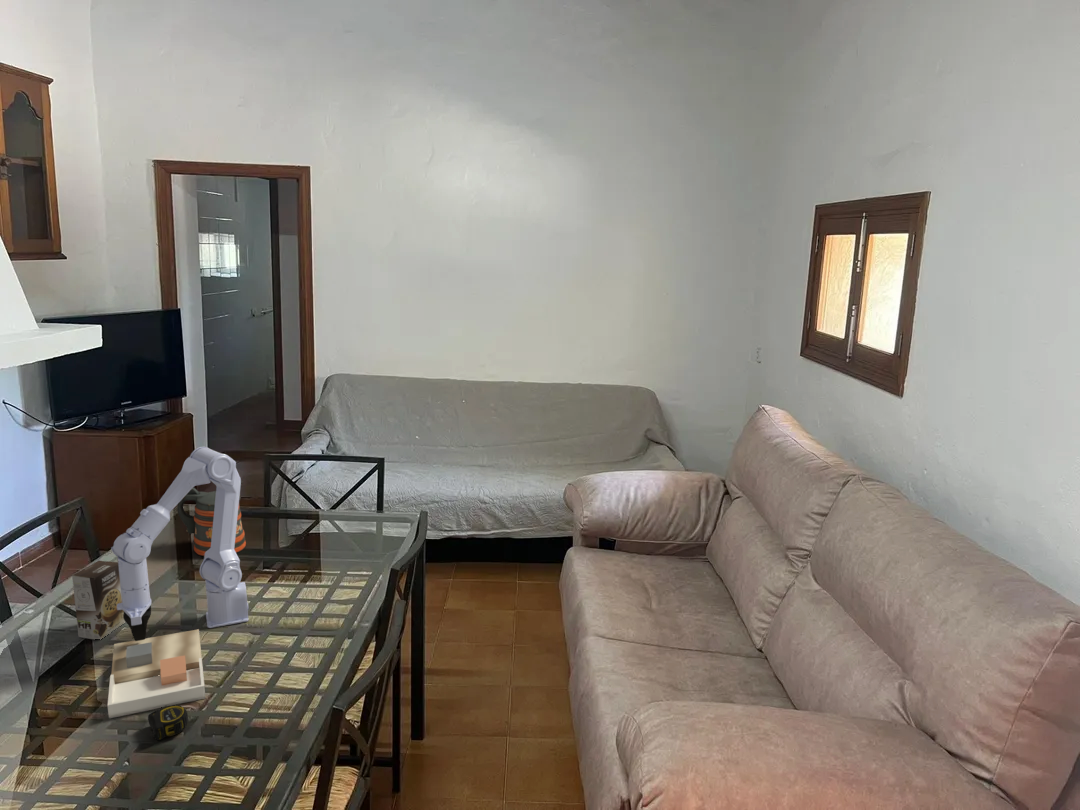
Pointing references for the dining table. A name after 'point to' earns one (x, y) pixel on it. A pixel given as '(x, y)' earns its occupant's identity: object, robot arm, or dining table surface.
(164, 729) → the tape measure
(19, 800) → the dining table surface
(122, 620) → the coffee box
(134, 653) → the tile slate
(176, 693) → the box
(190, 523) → the beer stein
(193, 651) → the deck
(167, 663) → the tile terracotta
